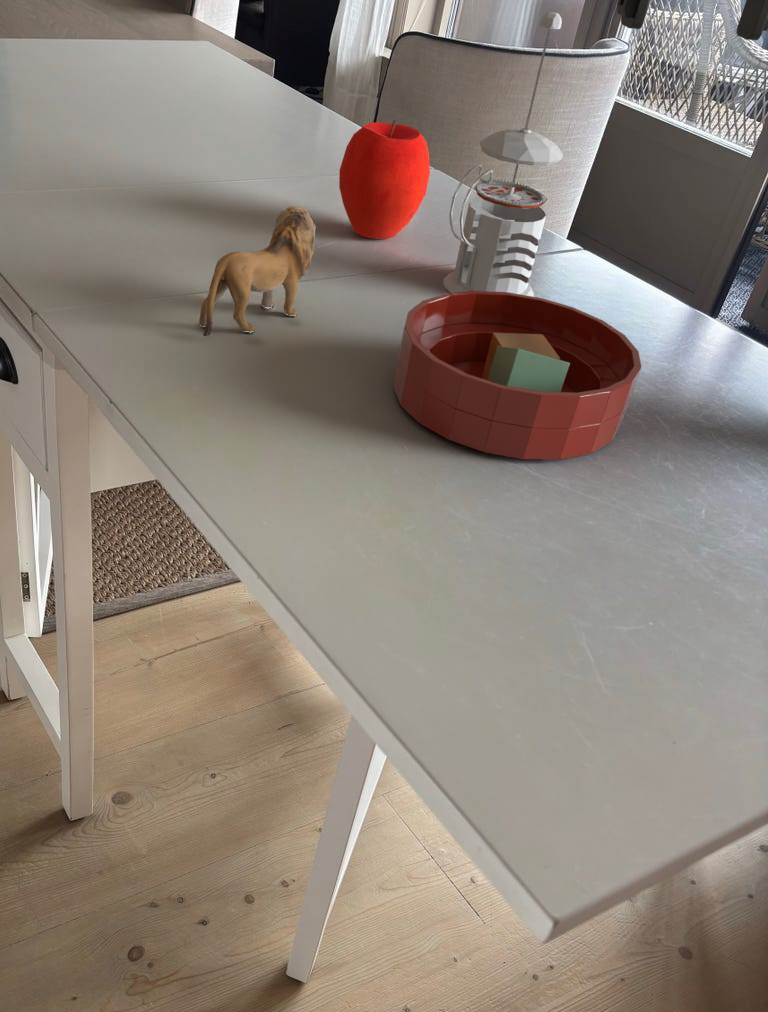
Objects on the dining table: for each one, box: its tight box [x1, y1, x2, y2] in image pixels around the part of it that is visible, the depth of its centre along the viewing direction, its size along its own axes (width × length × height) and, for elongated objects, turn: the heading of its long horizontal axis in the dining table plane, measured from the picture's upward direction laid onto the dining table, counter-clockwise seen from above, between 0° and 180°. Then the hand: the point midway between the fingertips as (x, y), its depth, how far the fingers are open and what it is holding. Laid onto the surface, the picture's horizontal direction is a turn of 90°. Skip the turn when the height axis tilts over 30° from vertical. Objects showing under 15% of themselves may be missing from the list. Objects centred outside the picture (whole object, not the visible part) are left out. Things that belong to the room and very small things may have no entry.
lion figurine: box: [198, 206, 316, 337], centre depth 89 cm, size 15×5×9 cm, turn 145°
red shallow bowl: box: [393, 291, 642, 461], centre depth 81 cm, size 19×19×6 cm
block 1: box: [482, 333, 560, 380], centre depth 83 cm, size 4×4×4 cm
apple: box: [338, 120, 431, 240], centre depth 107 cm, size 10×10×12 cm
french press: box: [442, 11, 564, 297], centre depth 94 cm, size 10×12×25 cm
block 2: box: [487, 346, 570, 392], centre depth 78 cm, size 4×4×4 cm
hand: (689, 32), depth 66 cm, fingers open, 8 cm apart
